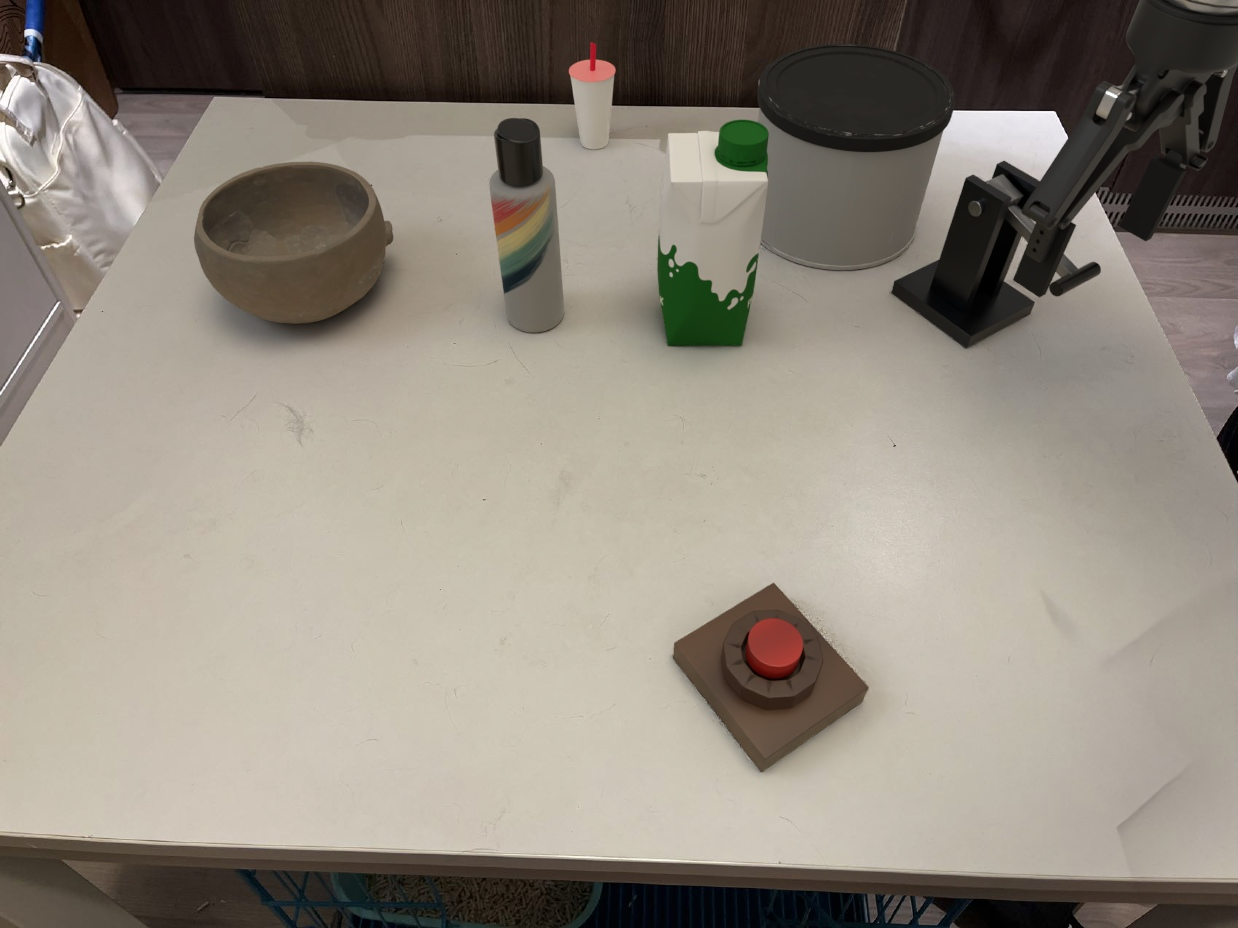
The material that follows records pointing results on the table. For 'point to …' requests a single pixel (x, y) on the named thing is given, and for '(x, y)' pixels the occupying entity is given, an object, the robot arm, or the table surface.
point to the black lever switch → (973, 265)
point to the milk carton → (711, 232)
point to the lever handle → (1024, 227)
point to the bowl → (293, 240)
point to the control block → (768, 679)
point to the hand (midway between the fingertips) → (1083, 259)
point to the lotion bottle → (526, 228)
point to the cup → (593, 99)
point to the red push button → (774, 648)
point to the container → (848, 152)
